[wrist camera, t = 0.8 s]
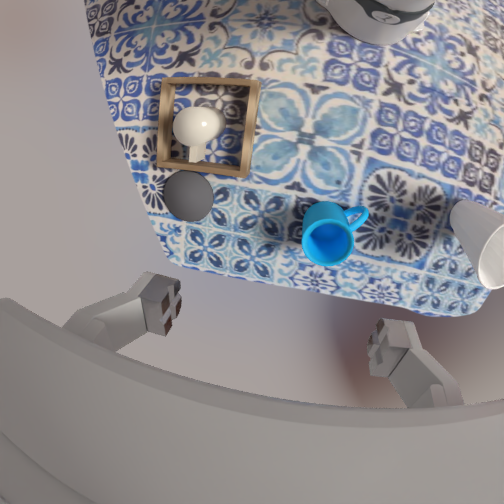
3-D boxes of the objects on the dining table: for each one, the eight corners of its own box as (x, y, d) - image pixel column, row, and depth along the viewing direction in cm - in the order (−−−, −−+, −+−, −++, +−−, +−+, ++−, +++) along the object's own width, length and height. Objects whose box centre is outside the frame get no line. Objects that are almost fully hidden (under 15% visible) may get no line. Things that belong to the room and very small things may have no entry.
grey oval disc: (165, 167, 49) (164, 168, 48) (215, 173, 48) (214, 174, 47) (165, 216, 54) (163, 217, 53) (212, 224, 53) (211, 225, 52)
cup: (447, 180, 39) (494, 213, 25) (490, 194, 37) (537, 228, 24) (432, 239, 45) (466, 287, 31) (474, 247, 43) (511, 292, 30)
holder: (171, 79, 40) (162, 77, 37) (261, 82, 38) (257, 80, 35) (165, 162, 48) (156, 166, 45) (249, 173, 46) (245, 178, 43)
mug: (317, 250, 51) (317, 274, 44) (294, 215, 49) (291, 234, 42) (373, 220, 46) (383, 241, 39) (352, 182, 44) (361, 196, 37)
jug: (194, 105, 42) (174, 106, 35) (228, 107, 41) (212, 108, 35) (190, 153, 46) (171, 162, 40) (222, 157, 46) (207, 166, 39)
